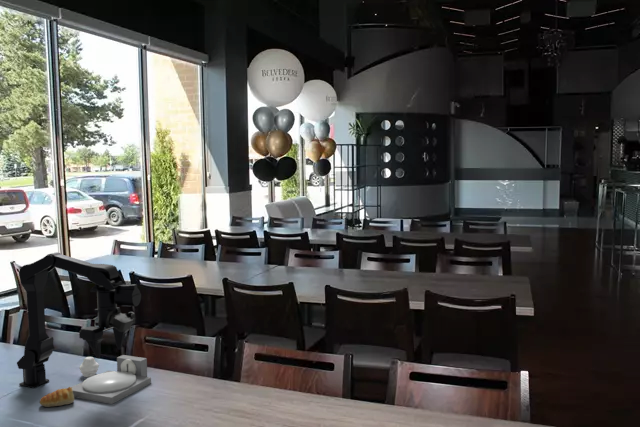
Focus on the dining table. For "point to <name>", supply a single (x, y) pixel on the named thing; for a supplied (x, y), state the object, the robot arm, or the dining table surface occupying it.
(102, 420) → the dining table surface
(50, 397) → the pastry
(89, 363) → the garlic bulb
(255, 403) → the dining table surface
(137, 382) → the scale
